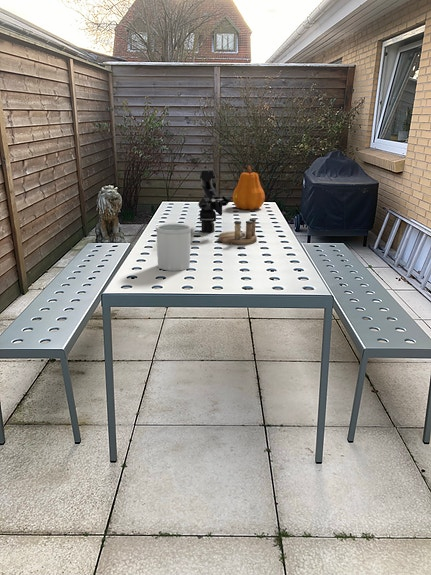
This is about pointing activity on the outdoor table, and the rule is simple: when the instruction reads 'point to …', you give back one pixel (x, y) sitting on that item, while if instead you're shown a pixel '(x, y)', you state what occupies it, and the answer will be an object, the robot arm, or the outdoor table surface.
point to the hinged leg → (238, 230)
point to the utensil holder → (173, 246)
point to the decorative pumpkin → (248, 191)
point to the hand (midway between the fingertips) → (221, 215)
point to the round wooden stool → (244, 240)
